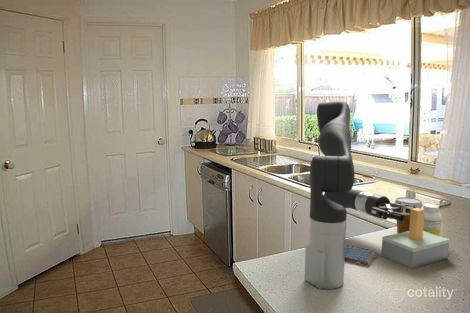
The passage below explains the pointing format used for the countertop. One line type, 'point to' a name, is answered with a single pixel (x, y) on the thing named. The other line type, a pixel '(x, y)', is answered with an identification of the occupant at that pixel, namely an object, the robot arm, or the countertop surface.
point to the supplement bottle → (432, 219)
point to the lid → (416, 234)
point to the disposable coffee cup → (406, 224)
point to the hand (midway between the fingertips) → (413, 216)
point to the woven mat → (359, 256)
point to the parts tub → (414, 254)
